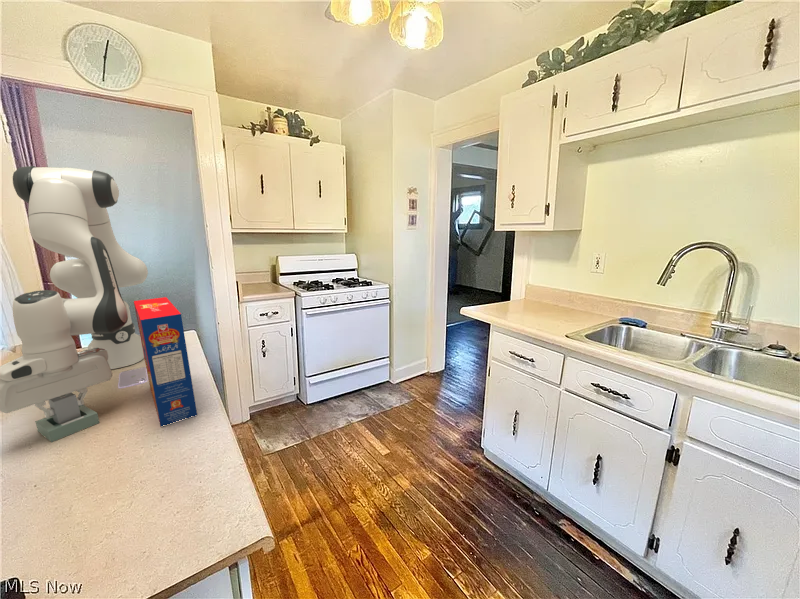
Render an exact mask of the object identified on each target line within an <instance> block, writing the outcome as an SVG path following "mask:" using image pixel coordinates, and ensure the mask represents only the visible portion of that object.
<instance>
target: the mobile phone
mask: <svg viewBox="0 0 800 599" xmlns="http://www.w3.org/2000/svg"><path fill="white" fill-rule="evenodd" d="M147 381H148V382H149V379H148V374H147V369H146V366H144V367H143V366H142V367H138V368H134V369H128V370H124V371H121V372H120V373H119V374H118V384H117V386H118V387H117V388H118V389H124V388H129V387H132V386H133V387H134V386H138V385H142V384H146V383H147ZM145 382H146V383H145Z"/></svg>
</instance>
